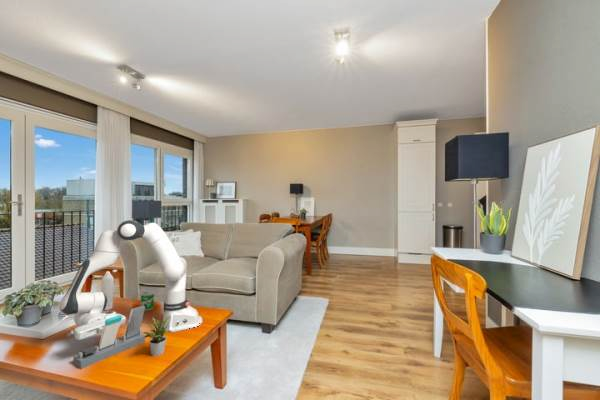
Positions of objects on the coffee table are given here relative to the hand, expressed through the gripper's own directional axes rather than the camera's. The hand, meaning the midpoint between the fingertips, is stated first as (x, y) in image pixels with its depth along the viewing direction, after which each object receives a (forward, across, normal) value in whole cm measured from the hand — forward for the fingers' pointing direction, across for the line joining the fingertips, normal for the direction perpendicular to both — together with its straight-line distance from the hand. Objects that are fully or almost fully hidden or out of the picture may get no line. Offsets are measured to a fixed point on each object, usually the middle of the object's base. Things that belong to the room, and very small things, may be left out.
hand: (108, 330), depth 124 cm
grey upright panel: (-2, +12, +8) cm, 14 cm away
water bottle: (-62, +26, +12) cm, 69 cm away
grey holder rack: (-2, +3, +12) cm, 12 cm away
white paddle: (-2, 0, +8) cm, 8 cm away
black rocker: (-2, -7, +7) cm, 10 cm away
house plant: (+16, +14, +12) cm, 25 cm away
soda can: (-38, +39, +12) cm, 56 cm away
